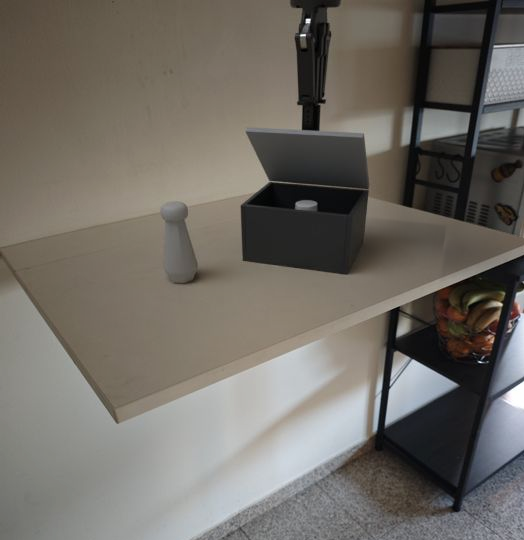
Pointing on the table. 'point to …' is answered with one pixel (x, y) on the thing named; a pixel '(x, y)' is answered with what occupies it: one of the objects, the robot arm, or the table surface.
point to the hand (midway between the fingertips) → (310, 146)
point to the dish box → (304, 226)
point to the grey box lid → (312, 156)
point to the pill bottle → (306, 205)
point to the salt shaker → (177, 244)
